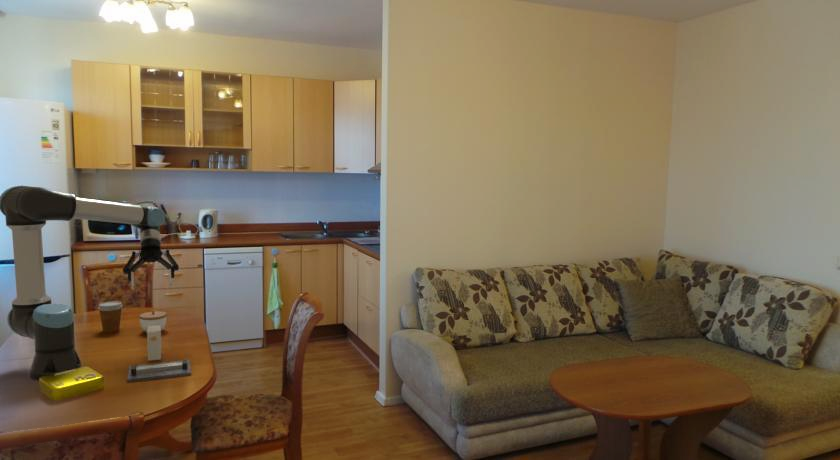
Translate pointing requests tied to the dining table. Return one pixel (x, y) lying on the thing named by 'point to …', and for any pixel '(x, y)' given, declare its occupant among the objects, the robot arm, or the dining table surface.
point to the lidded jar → (153, 319)
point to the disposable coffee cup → (110, 315)
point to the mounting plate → (158, 370)
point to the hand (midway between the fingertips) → (151, 286)
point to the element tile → (70, 383)
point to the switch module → (154, 342)
